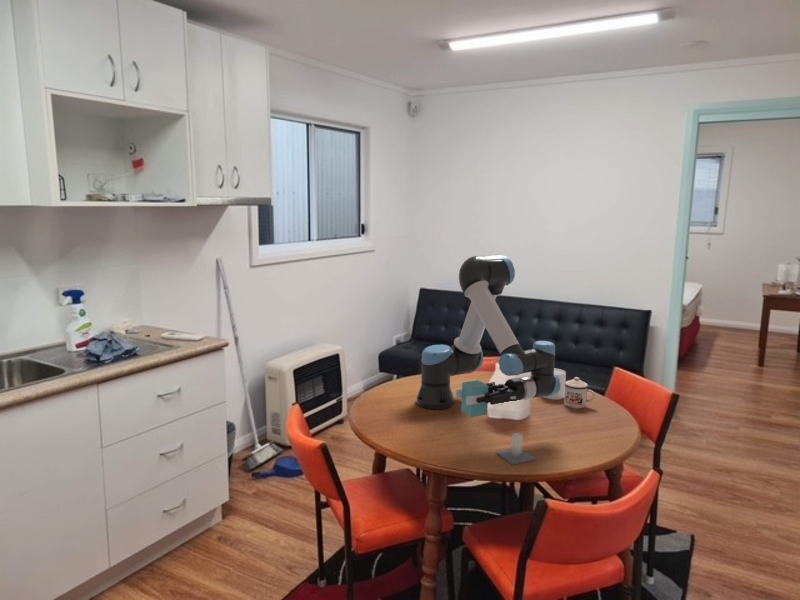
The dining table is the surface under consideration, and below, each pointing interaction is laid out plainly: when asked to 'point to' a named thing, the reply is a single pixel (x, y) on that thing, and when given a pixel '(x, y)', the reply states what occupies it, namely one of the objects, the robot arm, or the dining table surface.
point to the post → (516, 451)
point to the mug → (561, 393)
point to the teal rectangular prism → (470, 390)
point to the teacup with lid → (576, 393)
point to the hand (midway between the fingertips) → (461, 397)
